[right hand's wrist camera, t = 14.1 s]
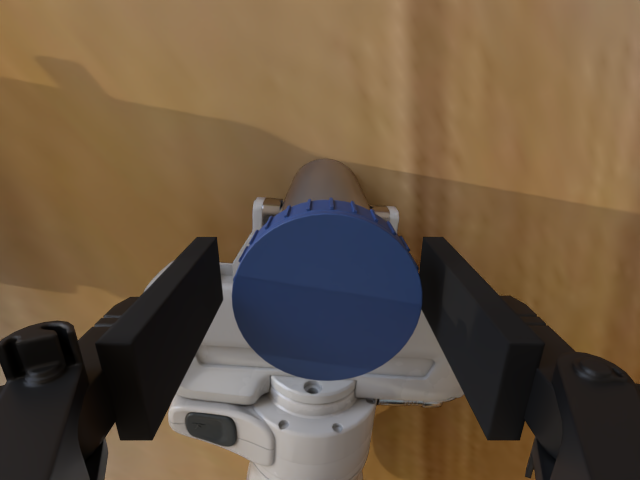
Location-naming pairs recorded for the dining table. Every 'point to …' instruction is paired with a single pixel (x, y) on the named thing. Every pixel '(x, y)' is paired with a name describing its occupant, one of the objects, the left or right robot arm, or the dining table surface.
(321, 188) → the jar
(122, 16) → the dining table surface
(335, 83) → the dining table surface
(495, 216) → the dining table surface
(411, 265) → the lid
